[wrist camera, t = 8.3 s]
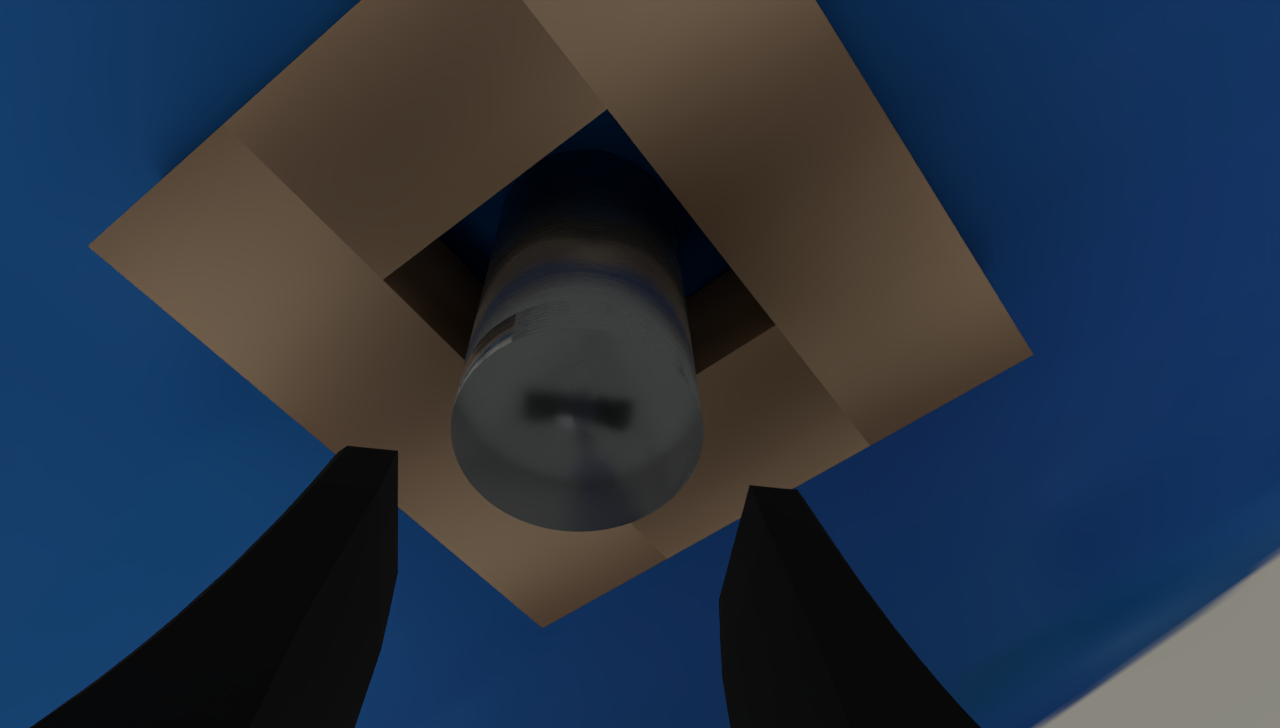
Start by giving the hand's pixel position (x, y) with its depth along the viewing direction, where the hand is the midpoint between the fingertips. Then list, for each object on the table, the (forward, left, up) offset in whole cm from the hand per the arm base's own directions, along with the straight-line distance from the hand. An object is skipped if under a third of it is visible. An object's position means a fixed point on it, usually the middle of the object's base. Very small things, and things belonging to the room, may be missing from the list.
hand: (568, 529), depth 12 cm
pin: (0, 0, -9) cm, 9 cm away
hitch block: (0, 0, -9) cm, 9 cm away
